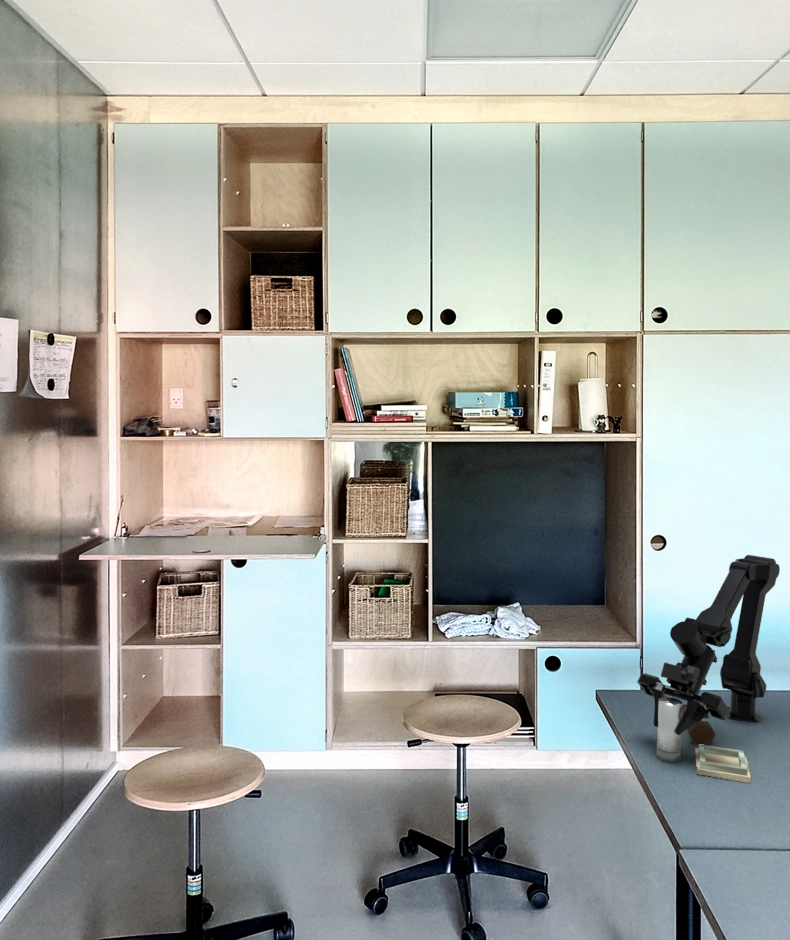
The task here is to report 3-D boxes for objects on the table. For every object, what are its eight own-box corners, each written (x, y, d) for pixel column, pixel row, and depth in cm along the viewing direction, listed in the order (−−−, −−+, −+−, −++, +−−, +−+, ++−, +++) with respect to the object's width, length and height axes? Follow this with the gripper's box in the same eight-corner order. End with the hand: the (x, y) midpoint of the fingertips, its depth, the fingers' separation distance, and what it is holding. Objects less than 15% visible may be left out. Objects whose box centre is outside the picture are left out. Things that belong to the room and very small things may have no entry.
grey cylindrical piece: (656, 750, 165) (658, 695, 164) (680, 754, 163) (682, 698, 162) (656, 760, 161) (658, 704, 159) (680, 764, 159) (682, 707, 158)
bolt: (688, 725, 183) (705, 751, 168) (670, 713, 183) (685, 739, 168) (701, 705, 182) (719, 730, 167) (683, 694, 182) (699, 717, 168)
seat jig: (695, 753, 164) (695, 742, 164) (745, 760, 160) (746, 750, 160) (696, 774, 154) (697, 763, 154) (750, 783, 151) (750, 771, 151)
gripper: (643, 638, 169) (613, 697, 163) (723, 659, 155) (694, 726, 149) (660, 664, 175) (632, 722, 169) (740, 687, 161) (712, 752, 155)
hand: (666, 729), depth 160 cm, fingers closed on grey cylindrical piece, 5 cm apart
